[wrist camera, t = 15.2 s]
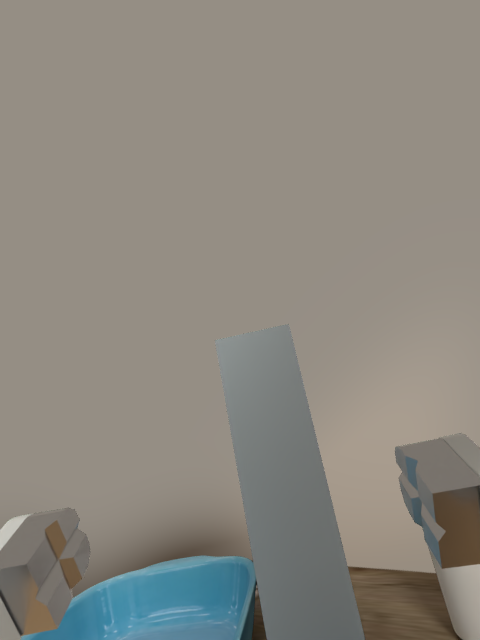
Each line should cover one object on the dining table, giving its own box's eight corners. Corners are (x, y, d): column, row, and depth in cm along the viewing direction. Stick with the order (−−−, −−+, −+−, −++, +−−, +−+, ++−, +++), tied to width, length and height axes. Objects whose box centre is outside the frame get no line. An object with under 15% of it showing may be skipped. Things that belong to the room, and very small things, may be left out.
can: (439, 621, 32) (399, 485, 36) (504, 607, 33) (458, 473, 36) (485, 668, 26) (431, 498, 30) (565, 649, 26) (501, 483, 30)
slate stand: (348, 604, 38) (289, 353, 46) (387, 732, 23) (288, 323, 31) (286, 613, 39) (239, 364, 47) (284, 744, 23) (215, 340, 32)
